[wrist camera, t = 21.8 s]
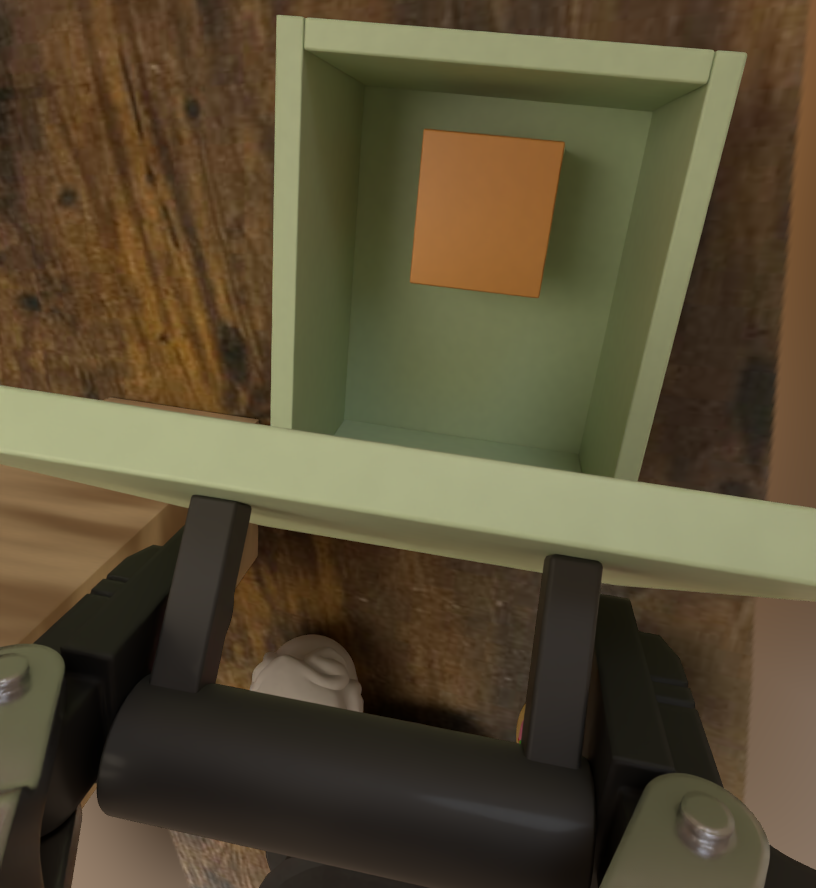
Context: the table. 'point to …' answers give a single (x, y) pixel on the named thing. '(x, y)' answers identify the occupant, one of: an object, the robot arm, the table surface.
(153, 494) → the lid
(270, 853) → the casserole
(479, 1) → the table surface
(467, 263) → the orange rectangular box
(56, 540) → the tall wooden pillar
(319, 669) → the frog figurine
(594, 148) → the chest
